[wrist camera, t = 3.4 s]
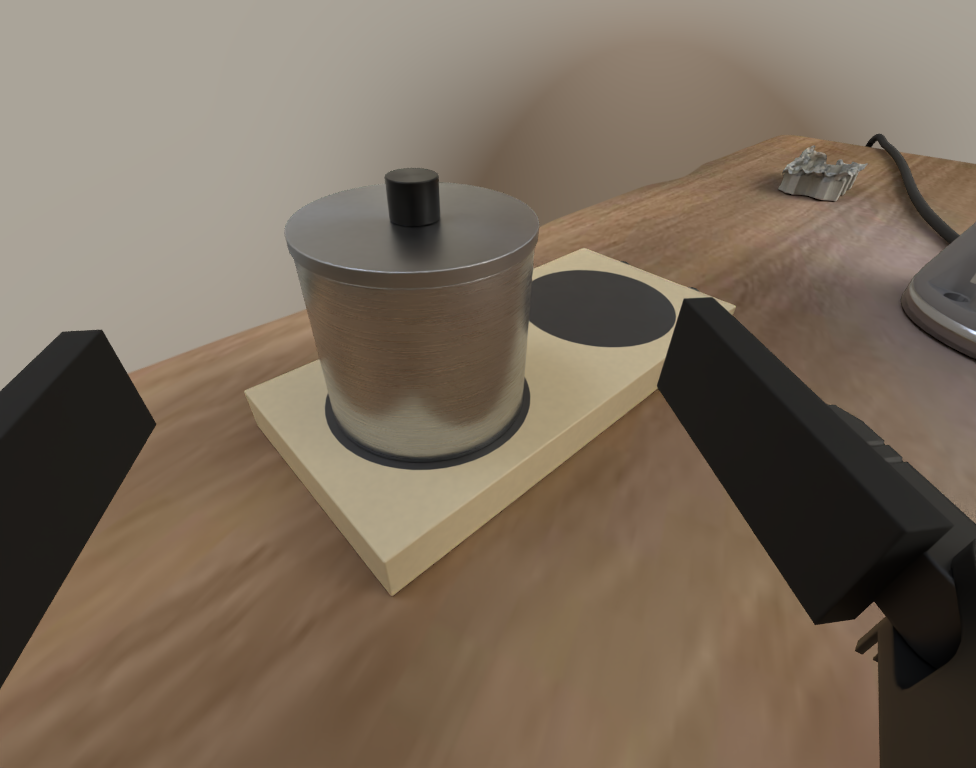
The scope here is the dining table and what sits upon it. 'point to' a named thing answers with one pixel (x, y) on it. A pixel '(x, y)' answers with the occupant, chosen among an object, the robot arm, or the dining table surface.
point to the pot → (418, 310)
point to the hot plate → (513, 456)
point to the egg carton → (818, 176)
